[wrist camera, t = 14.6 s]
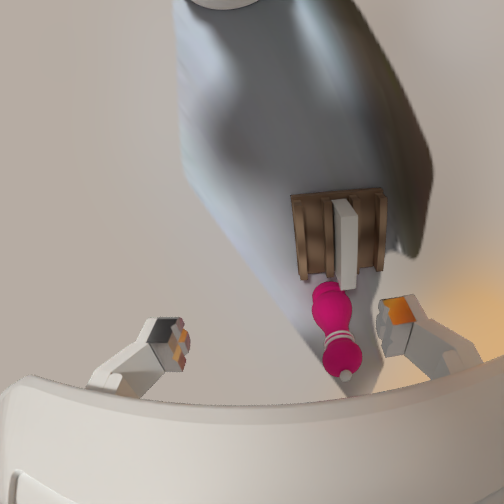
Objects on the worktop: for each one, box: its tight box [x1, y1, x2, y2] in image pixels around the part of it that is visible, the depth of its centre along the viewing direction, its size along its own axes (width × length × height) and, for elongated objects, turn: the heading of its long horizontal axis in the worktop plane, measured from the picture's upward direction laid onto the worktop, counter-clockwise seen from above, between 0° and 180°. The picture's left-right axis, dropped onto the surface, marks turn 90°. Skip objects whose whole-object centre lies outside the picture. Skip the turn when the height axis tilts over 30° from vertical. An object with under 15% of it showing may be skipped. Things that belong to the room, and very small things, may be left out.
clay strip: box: [331, 199, 358, 290], centre depth 42 cm, size 12×2×7 cm, turn 9°
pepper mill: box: [312, 281, 362, 382], centre depth 43 cm, size 7×7×20 cm
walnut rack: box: [291, 188, 387, 280], centre depth 44 cm, size 14×15×4 cm
